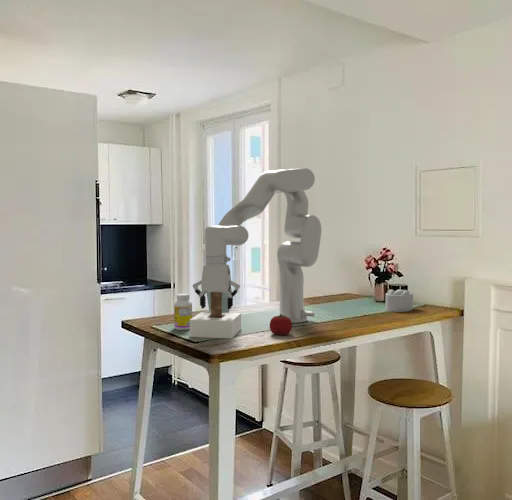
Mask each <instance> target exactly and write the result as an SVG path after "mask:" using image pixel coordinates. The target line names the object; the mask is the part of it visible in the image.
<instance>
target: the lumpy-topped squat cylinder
mask: <svg viewBox="0 0 512 500" xmlns="http://www.w3.org/2000/svg"><path fill="white" fill-rule="evenodd" d="M384 306H385V307H384V308H385V311H387V312H392V313H394V312H395V313H397V312H398V313H400V312H401V313H402V312H405V313H406V312H410V311H413V310H414V293H413V292H410V291H409V290H407V289H397V290H394V289H388V290H387V292H386V293H385V305H384Z"/></svg>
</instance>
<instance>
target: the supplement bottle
mask: <svg viewBox="0 0 512 500" xmlns="http://www.w3.org/2000/svg"><path fill="white" fill-rule="evenodd" d="M176 299H177V300H176V301H175V302H174V303H173V309H174V310H173V313H174V315H173V319H174V320H173V321H174V324H173V325H174V329H175V330H177V331H187V330H190V319H192V318H193V302H192V301H191V300H190V294H189V293H177V294H176Z"/></svg>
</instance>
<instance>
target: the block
mask: <svg viewBox="0 0 512 500" xmlns="http://www.w3.org/2000/svg"><path fill="white" fill-rule="evenodd" d="M240 331H242V312H229V313H222V318H211V312H209V311H201V312H199V313H198V314H196V315H195V316H194V317H193V316H192V319H190V329H189V338H212V339H213V338H214V339H233V338H234V337H235V336H237V334H238V333H240Z"/></svg>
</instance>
